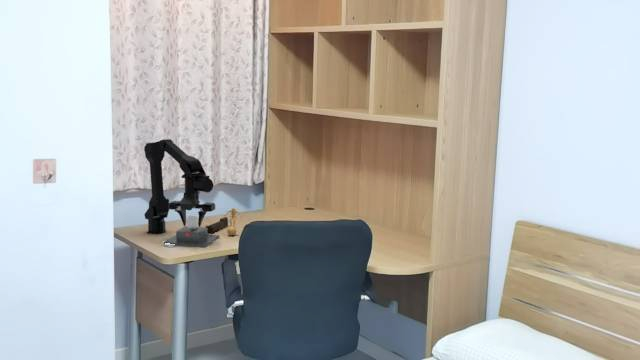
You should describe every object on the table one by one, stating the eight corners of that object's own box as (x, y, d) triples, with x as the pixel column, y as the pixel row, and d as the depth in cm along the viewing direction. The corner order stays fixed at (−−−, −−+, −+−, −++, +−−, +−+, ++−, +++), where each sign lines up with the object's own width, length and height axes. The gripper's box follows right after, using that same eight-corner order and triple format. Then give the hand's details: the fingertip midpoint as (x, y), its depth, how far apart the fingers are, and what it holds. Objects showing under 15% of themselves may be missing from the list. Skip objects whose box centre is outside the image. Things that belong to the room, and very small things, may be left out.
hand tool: (212, 234, 311) (212, 224, 310) (204, 234, 312) (204, 223, 311) (233, 226, 328) (233, 216, 328) (225, 225, 330) (225, 216, 329)
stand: (163, 244, 290) (163, 231, 290) (179, 235, 308) (179, 222, 307) (205, 247, 287) (205, 233, 286) (219, 237, 305) (219, 224, 304)
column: (187, 238, 296) (186, 217, 295) (189, 237, 299) (189, 215, 298) (194, 239, 296) (194, 217, 294) (197, 237, 299) (197, 216, 297)
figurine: (221, 236, 308) (221, 208, 306) (225, 233, 314) (225, 206, 312) (239, 237, 306) (239, 209, 304) (243, 234, 312) (243, 207, 310)
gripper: (162, 191, 288) (163, 229, 290) (206, 193, 285) (207, 231, 287) (173, 187, 299) (173, 223, 301) (215, 189, 296) (215, 226, 298)
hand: (192, 226), depth 297 cm, fingers open, 6 cm apart
